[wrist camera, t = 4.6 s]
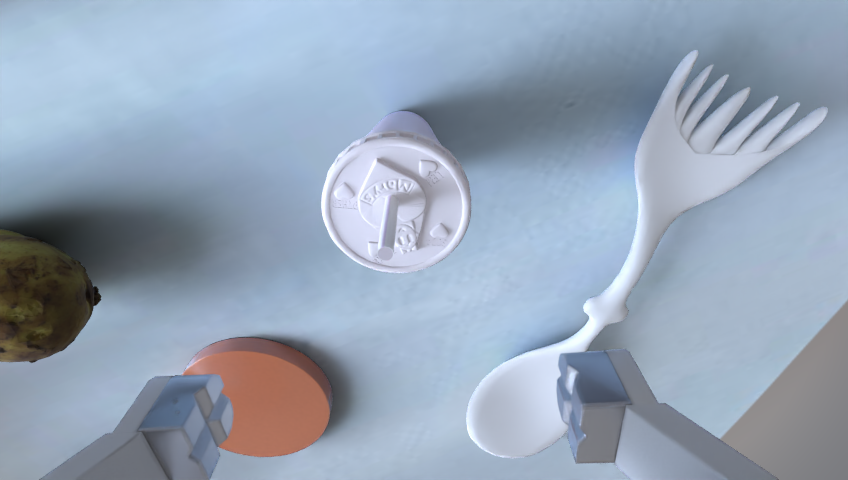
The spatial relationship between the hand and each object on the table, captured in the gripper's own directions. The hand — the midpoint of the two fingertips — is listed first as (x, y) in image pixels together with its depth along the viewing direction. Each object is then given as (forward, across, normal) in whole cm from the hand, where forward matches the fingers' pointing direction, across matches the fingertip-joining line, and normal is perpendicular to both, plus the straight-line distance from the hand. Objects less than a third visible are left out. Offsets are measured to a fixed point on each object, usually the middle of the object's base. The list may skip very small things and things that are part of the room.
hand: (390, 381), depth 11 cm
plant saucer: (+19, -14, -20) cm, 31 cm away
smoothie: (+19, 0, 0) cm, 19 cm away
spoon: (+19, +12, -12) cm, 26 cm away
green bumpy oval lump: (+19, -26, -6) cm, 33 cm away
